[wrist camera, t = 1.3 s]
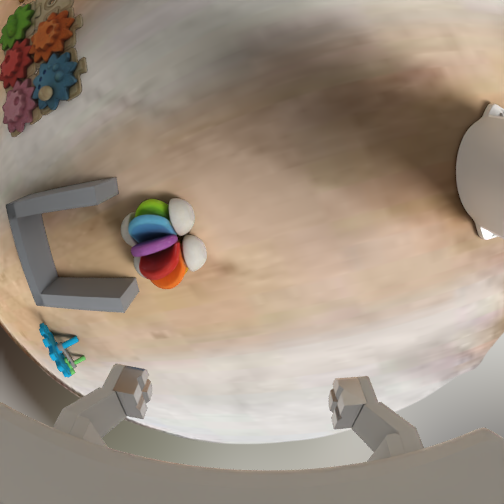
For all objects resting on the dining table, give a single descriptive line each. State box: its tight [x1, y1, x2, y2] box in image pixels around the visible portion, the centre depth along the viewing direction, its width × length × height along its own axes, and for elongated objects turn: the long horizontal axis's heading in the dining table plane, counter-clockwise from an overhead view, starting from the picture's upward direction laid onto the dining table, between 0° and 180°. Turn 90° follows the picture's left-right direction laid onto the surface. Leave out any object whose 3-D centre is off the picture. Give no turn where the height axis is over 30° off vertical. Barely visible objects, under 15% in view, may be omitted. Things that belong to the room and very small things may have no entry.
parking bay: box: [6, 177, 139, 313], centre depth 31 cm, size 16×15×5 cm
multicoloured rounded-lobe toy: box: [121, 198, 207, 289], centre depth 29 cm, size 8×10×7 cm
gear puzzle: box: [0, 0, 87, 137], centre depth 19 cm, size 31×16×4 cm, turn 12°
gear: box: [39, 323, 85, 377], centre depth 39 cm, size 11×6×10 cm
